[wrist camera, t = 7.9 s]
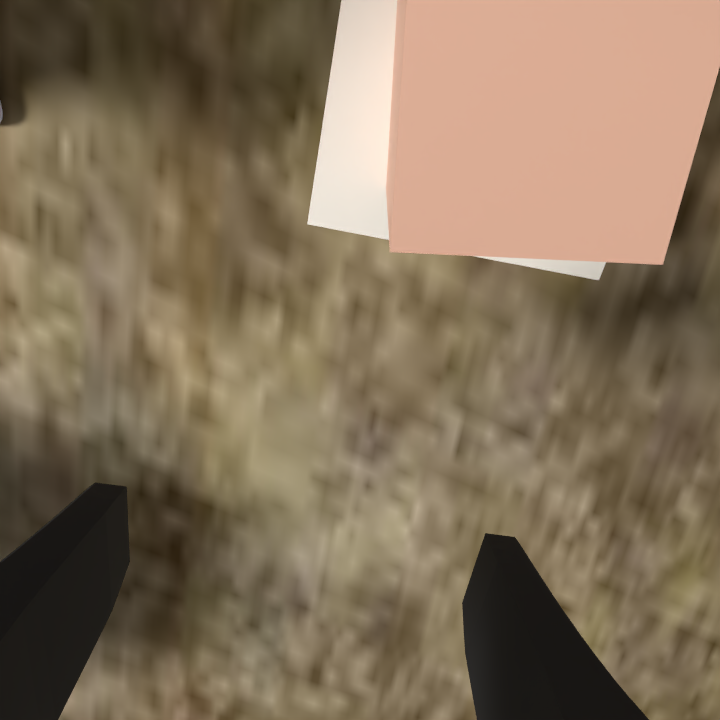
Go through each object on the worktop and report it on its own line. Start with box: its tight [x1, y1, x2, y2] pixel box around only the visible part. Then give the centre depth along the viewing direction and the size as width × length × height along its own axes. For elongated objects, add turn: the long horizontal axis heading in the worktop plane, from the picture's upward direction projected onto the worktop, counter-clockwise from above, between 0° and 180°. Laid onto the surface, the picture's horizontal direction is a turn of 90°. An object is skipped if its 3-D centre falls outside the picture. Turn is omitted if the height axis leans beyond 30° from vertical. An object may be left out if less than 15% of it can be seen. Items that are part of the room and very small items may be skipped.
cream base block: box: [308, 0, 606, 280], centre depth 16 cm, size 8×8×4 cm
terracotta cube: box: [386, 0, 720, 265], centre depth 12 cm, size 5×5×5 cm
